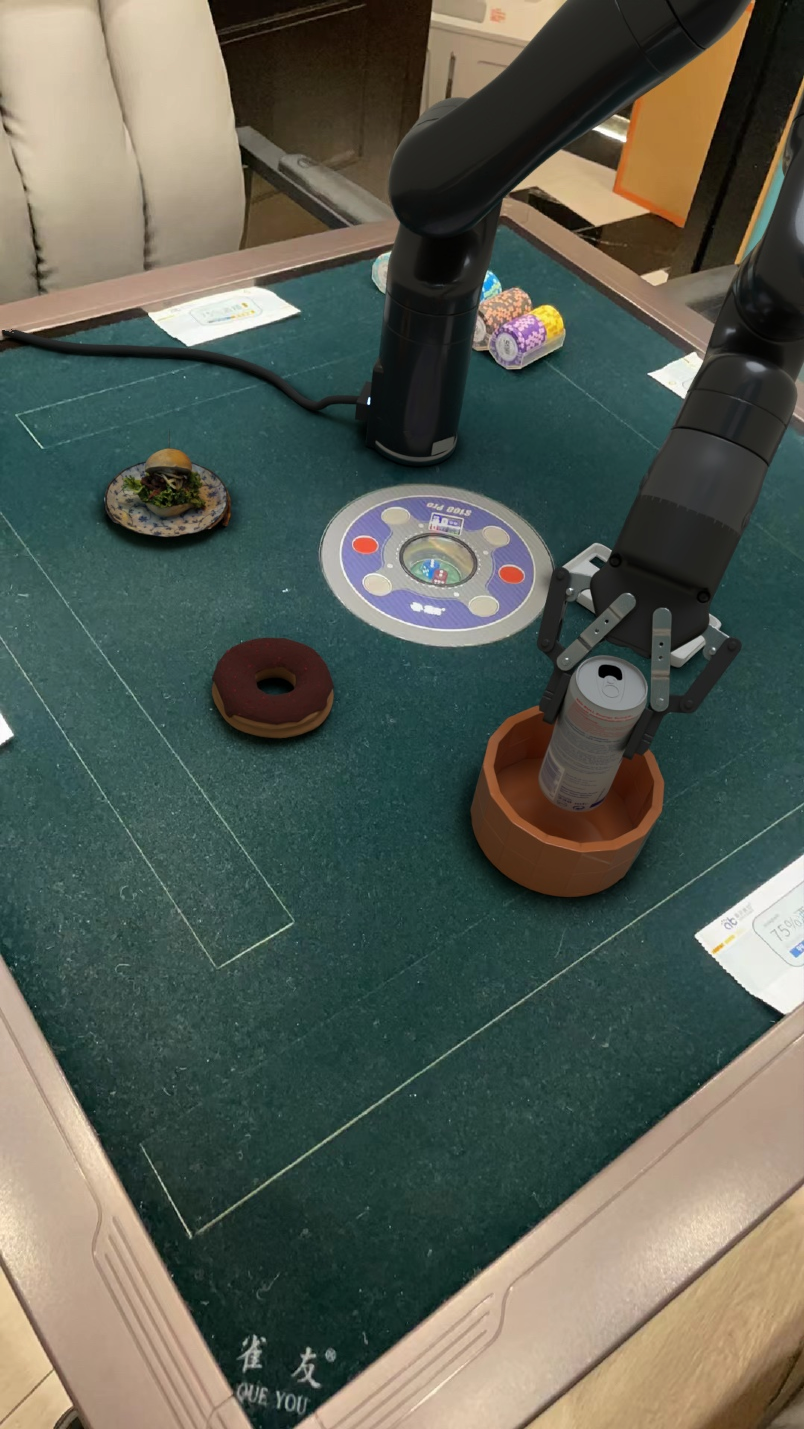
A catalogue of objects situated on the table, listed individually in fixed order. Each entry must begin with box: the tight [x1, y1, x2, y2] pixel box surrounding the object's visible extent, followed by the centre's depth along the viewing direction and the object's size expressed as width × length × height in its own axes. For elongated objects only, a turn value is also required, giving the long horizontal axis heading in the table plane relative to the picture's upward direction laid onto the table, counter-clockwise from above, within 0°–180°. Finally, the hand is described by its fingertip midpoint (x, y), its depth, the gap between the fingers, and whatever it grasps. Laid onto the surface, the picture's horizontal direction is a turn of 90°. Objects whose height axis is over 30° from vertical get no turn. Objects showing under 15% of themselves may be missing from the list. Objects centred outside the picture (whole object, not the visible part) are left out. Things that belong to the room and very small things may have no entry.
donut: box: [211, 637, 335, 739], centre depth 87 cm, size 10×10×4 cm
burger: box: [103, 428, 232, 538], centre depth 100 cm, size 12×12×8 cm
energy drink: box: [538, 654, 649, 812], centre depth 75 cm, size 5×5×12 cm
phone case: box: [562, 542, 722, 668], centre depth 100 cm, size 7×1×15 cm
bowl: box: [470, 705, 665, 898], centre depth 81 cm, size 14×14×6 cm
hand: (587, 739), depth 73 cm, fingers closed on energy drink, 5 cm apart
